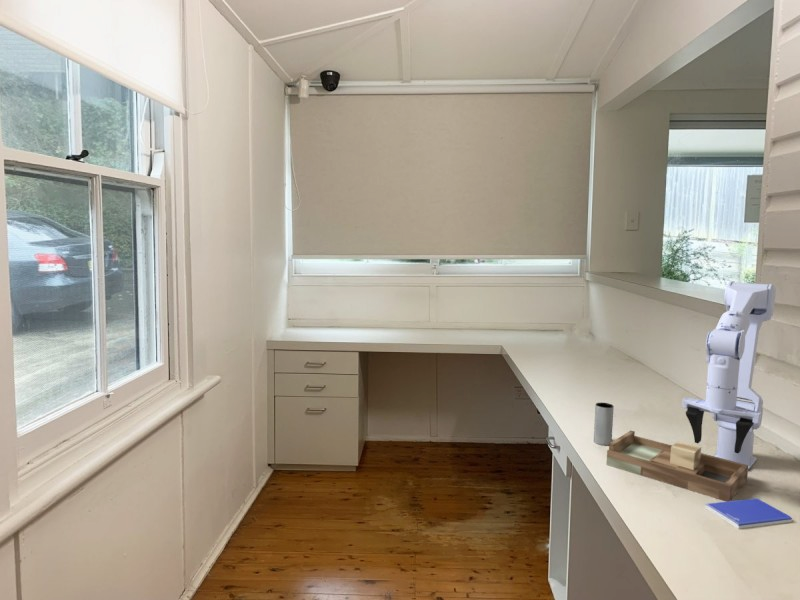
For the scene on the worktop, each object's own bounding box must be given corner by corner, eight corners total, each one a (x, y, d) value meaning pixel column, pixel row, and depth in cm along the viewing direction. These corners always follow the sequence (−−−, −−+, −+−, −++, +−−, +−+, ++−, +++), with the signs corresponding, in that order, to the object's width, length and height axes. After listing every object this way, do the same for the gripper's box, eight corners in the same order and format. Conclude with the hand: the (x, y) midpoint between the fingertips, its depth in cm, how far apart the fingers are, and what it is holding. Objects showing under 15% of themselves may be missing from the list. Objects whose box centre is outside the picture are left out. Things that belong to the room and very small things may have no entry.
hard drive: (738, 523, 101) (792, 516, 104) (705, 502, 109) (755, 497, 112) (738, 531, 101) (791, 524, 104) (704, 510, 109) (754, 504, 112)
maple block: (677, 457, 129) (678, 441, 129) (700, 463, 126) (701, 447, 125) (669, 463, 126) (671, 446, 125) (693, 469, 122) (694, 452, 122)
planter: (593, 444, 143) (595, 406, 141) (593, 438, 147) (595, 401, 146) (611, 446, 141) (613, 408, 140) (611, 440, 145) (613, 403, 144)
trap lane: (631, 448, 140) (632, 429, 139) (747, 480, 122) (748, 458, 121) (606, 464, 129) (607, 444, 129) (729, 502, 111) (731, 479, 111)
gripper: (679, 382, 117) (675, 442, 119) (757, 396, 107) (751, 462, 109) (689, 376, 122) (685, 434, 124) (765, 389, 112) (759, 452, 114)
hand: (717, 446), depth 116 cm, fingers open, 7 cm apart
